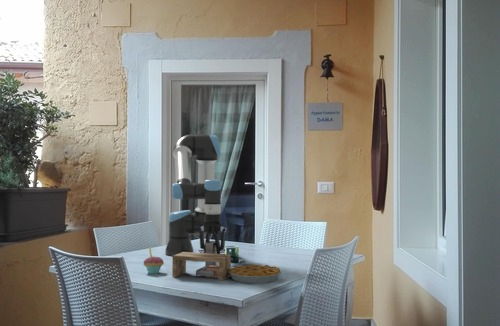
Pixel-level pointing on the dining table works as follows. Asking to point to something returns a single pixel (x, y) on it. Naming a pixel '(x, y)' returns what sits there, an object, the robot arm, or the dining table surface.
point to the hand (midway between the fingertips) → (212, 264)
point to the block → (214, 268)
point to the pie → (254, 273)
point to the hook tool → (203, 271)
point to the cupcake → (153, 264)
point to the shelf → (181, 258)
